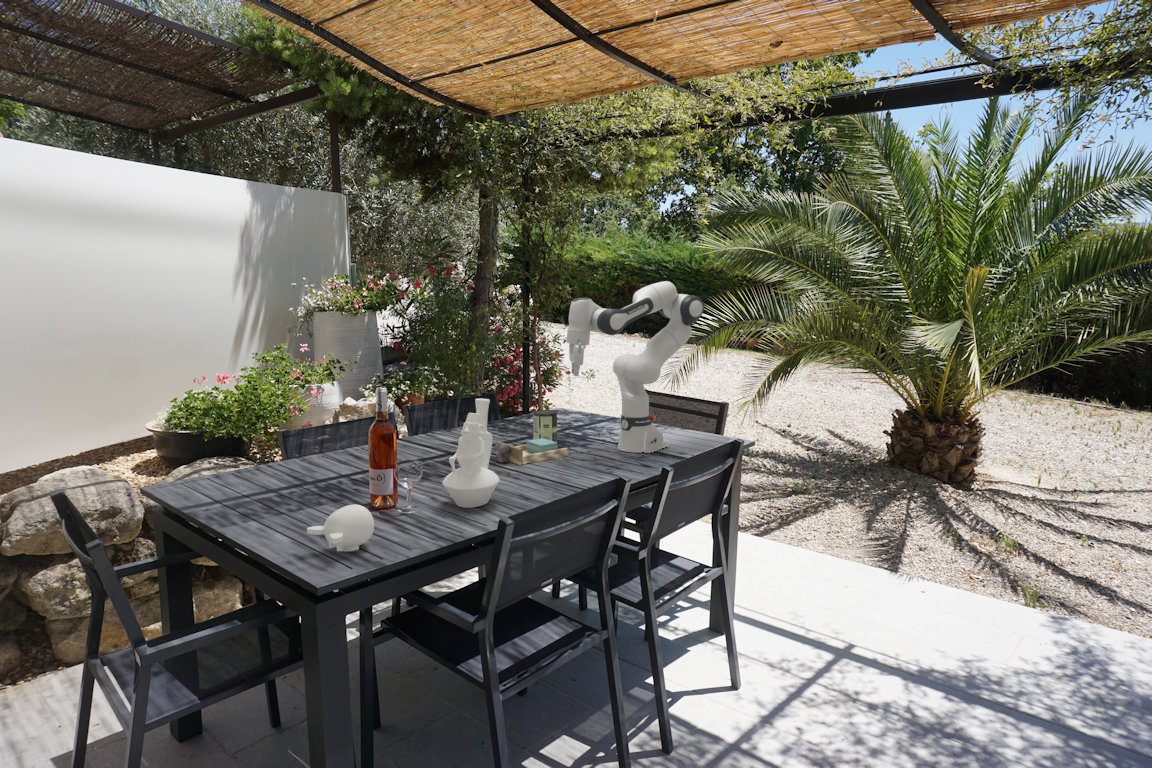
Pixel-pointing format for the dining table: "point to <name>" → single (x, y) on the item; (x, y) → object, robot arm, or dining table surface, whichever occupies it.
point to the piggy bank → (346, 528)
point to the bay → (525, 454)
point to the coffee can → (545, 424)
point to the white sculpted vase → (473, 461)
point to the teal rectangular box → (541, 445)
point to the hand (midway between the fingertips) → (574, 374)
